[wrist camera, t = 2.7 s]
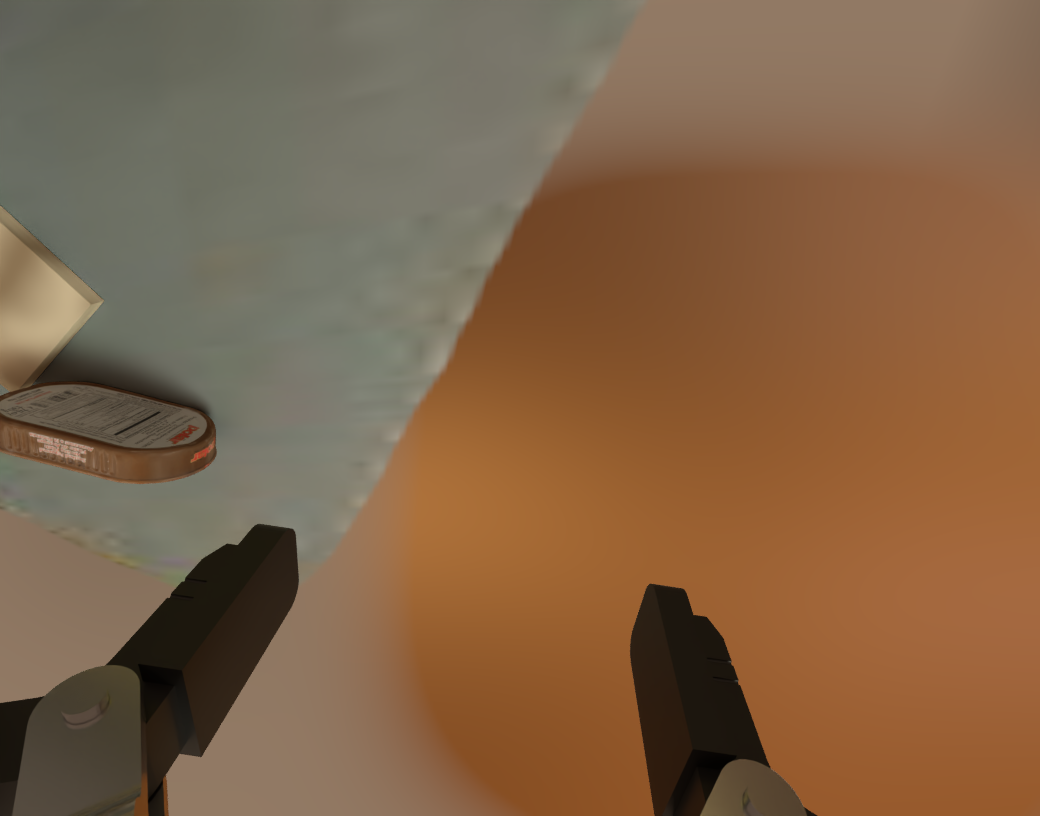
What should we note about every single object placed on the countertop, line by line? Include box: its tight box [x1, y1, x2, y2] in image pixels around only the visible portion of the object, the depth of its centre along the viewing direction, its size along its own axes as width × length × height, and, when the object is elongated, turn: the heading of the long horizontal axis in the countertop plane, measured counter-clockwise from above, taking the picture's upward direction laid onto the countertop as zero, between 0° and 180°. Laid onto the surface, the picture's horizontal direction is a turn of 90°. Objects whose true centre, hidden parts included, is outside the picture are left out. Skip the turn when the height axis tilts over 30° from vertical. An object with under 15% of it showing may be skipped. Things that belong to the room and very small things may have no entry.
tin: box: [0, 381, 217, 484], centre depth 38 cm, size 15×3×8 cm, turn 75°
